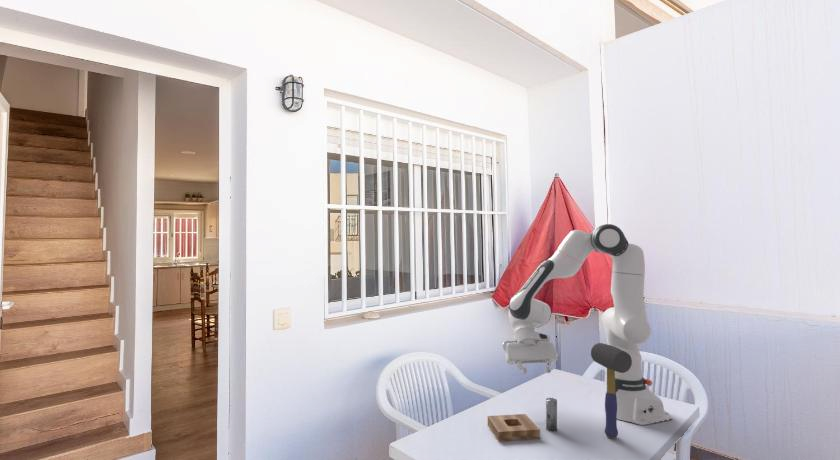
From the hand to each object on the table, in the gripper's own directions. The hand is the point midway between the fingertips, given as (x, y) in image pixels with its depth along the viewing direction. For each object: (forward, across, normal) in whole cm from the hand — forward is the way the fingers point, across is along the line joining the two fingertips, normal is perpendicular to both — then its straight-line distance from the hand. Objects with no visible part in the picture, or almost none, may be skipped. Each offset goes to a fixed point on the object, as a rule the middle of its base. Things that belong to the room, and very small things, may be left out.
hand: (536, 372), depth 153 cm
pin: (+20, 0, +2) cm, 20 cm away
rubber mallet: (+25, +17, -3) cm, 31 cm away
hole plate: (+20, -14, +2) cm, 24 cm away
